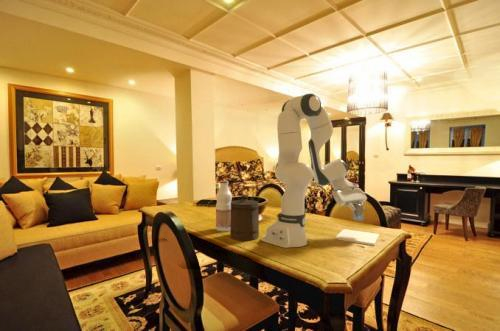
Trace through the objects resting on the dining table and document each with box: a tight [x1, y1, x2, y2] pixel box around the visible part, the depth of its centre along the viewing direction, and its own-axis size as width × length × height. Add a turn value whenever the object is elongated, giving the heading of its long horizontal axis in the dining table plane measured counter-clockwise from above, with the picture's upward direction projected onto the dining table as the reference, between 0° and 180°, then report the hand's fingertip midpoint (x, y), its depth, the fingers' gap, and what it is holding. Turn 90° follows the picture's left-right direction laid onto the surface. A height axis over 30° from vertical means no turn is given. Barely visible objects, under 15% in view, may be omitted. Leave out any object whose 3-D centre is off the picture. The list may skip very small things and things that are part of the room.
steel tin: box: [352, 203, 365, 222], centre depth 130 cm, size 5×5×8 cm
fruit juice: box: [215, 180, 233, 232], centre depth 144 cm, size 9×9×28 cm
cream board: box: [334, 228, 380, 246], centre depth 130 cm, size 18×18×1 cm
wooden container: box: [229, 194, 260, 242], centre depth 131 cm, size 15×15×22 cm
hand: (359, 209), depth 129 cm, fingers closed on steel tin, 5 cm apart
